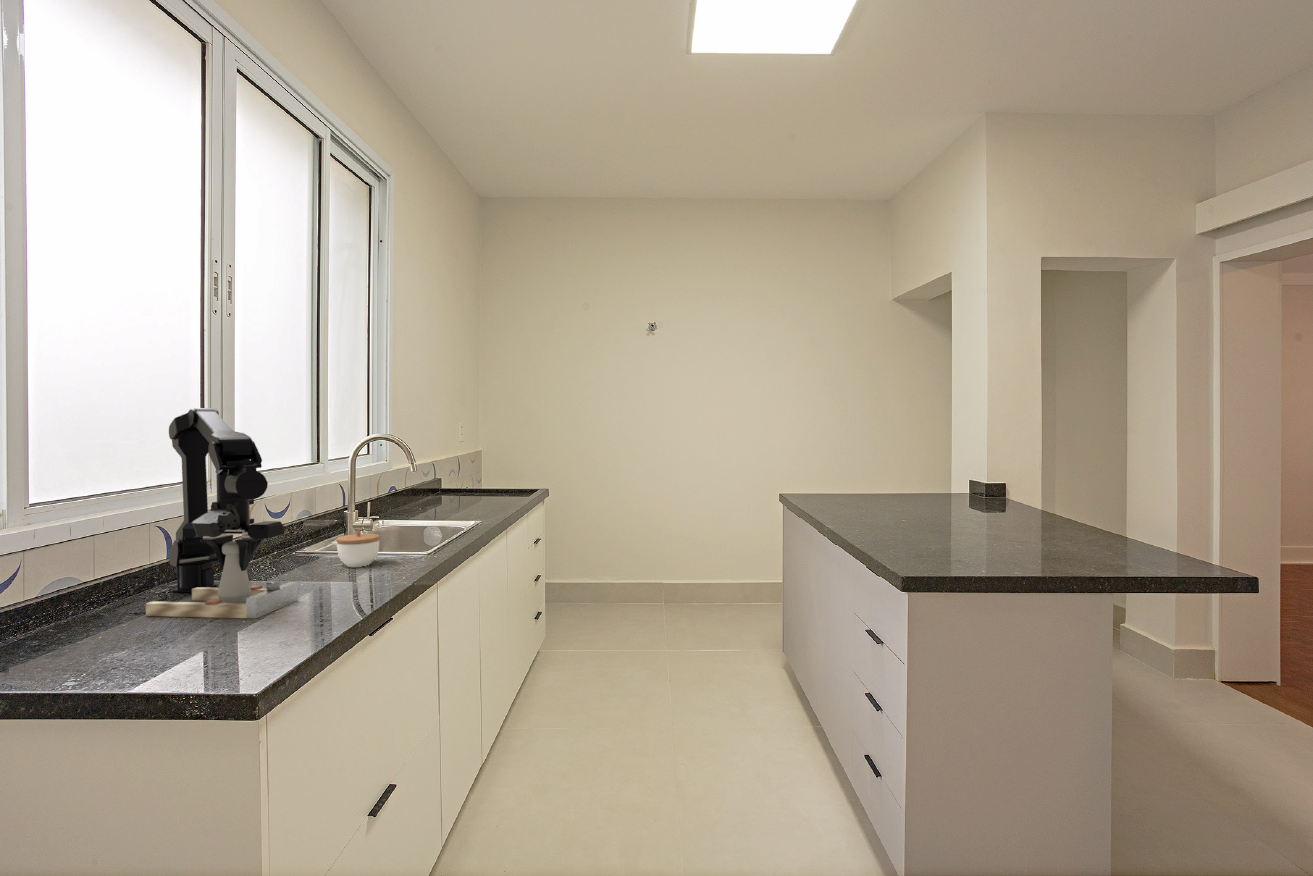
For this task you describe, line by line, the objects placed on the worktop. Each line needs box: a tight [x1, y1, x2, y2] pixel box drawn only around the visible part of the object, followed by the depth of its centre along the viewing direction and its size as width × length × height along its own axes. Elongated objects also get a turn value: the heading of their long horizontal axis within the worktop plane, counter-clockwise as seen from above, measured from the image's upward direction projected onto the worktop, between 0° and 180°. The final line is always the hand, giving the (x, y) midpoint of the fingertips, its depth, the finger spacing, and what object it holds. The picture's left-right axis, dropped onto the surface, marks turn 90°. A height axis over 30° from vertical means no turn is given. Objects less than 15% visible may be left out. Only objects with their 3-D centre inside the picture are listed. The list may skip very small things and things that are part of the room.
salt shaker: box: [218, 540, 251, 603], centre depth 135 cm, size 6×6×13 cm
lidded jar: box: [336, 530, 381, 568], centre depth 176 cm, size 11×11×9 cm
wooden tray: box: [145, 580, 299, 619], centre depth 135 cm, size 24×14×6 cm, turn 85°
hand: (234, 570), depth 135 cm, fingers closed on salt shaker, 3 cm apart
